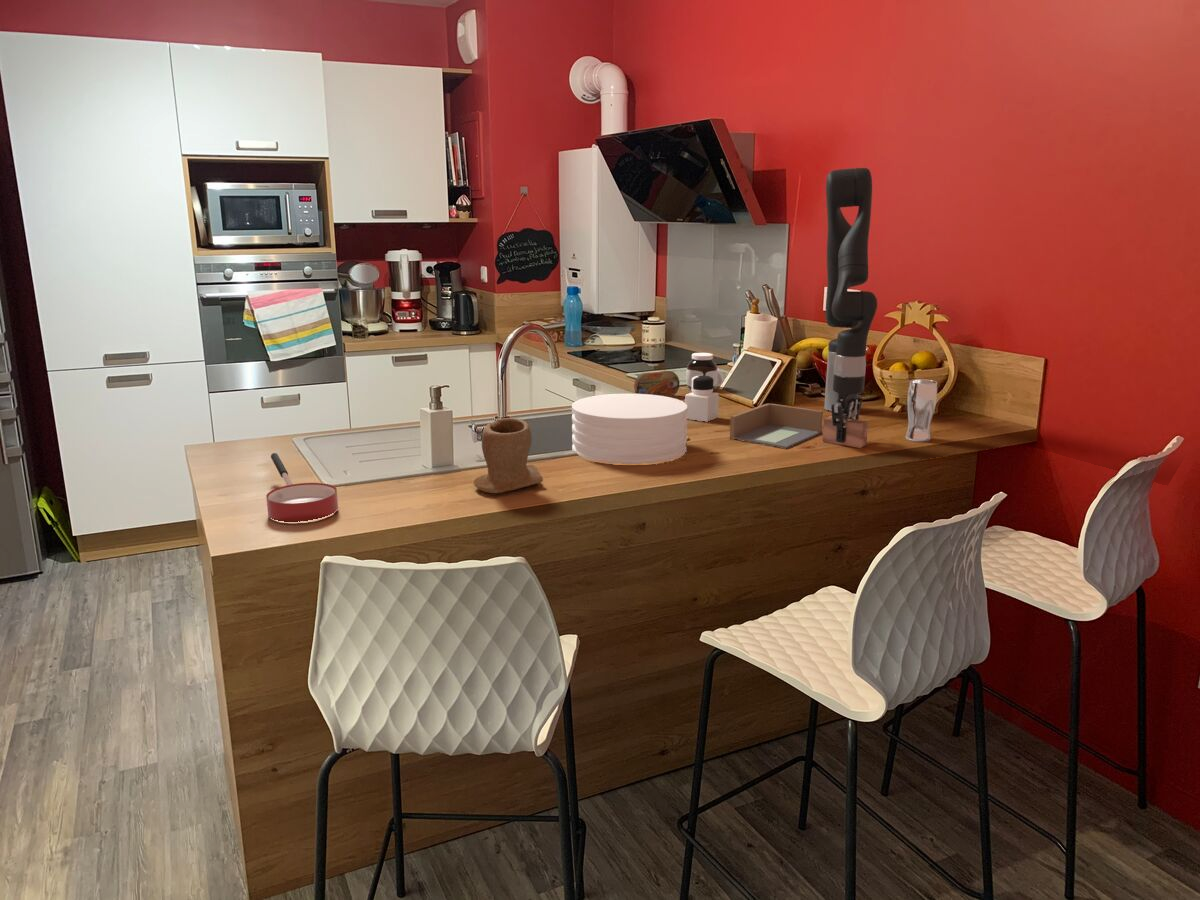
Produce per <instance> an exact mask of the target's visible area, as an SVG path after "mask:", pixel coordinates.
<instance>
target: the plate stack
mask: <svg viewBox="0 0 1200 900" xmlns="http://www.w3.org/2000/svg"><path fill="white" fill-rule="evenodd" d="M687 408H688V407H687V404H686V403H685V402H684V401H683V400H681V399H678V398H674V397H665V396H659V395H650V394H636V393H609V394H599V395H593V396H586V397H582V398H580V399H578V400H576V401H574V402H573V403H572V404H571V412H572V415H571V422H572V424H571V432H572V435H571V441H572V445H571V451H577V452H575V453H577V454H578V455H579V456H581V457H583V458H586V459H590V460H595V461H601V462H608V463H621V464H642V463H655V462H662V461H667V460H671V459H675V458H678V457H680V456H682V455H683V454H685V452H686V453H687V445H686V444H687V441H688V439H687V431H688V426H687V423H688V420H687V415H686V413H687ZM685 455H686V454H685Z"/></svg>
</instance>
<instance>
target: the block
mask: <svg viewBox="0 0 1200 900" xmlns="http://www.w3.org/2000/svg"><path fill="white" fill-rule="evenodd" d="M868 428H869V421H868V420H867V421H866V420H863V419H862V420H861V419H858V420H856V419H848V421H847V427H846V440H845V442H843V443H842V442H837V441H836V434H837V427H836V426H833V422H832V415H829V416H827V417H824V418H823V425H822V441H823V443H828V442H829V444H833V445H835V444H836V445H840V446H846V447H847V446H848V447H853V448H858V449H861V448H863V447H865V446H867V443H868V431H869V429H868Z"/></svg>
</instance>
